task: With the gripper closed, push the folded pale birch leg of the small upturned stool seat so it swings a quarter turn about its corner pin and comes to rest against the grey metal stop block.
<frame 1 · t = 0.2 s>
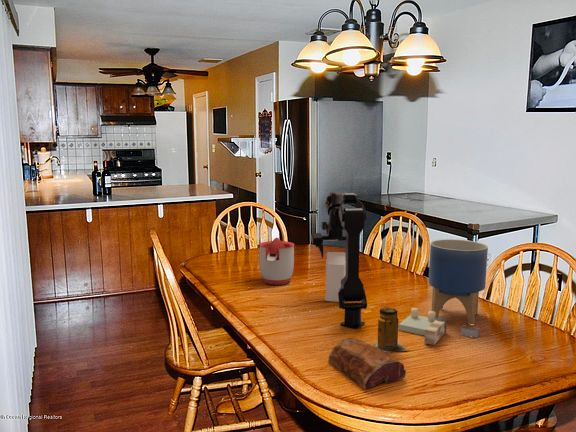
hand: (333, 257, 208), 15 cm above the table, tool pointing down, fingers open, 9 cm apart
condiment: (390, 348, 158), on the table
planter: (454, 316, 186), on the table
cured meat: (363, 366, 146), on the table
leg: (436, 330, 165), point 3 cm above the table, hinge at 0.0°
citrus juicer: (276, 282, 228), on the table
stool seat: (419, 327, 174), on the table
milk carton: (335, 299, 205), on the table
stop block: (469, 335, 168), on the table
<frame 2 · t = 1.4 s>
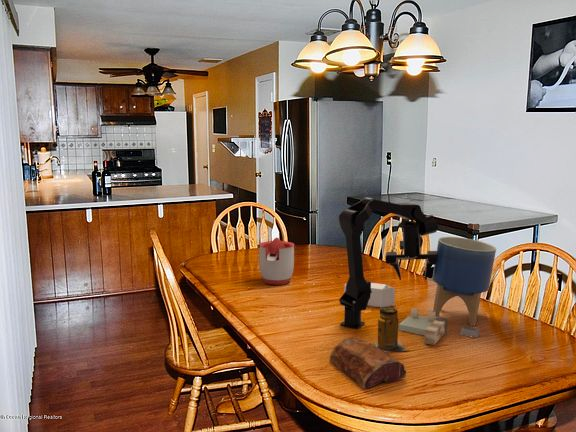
hand: (412, 279, 187), 12 cm above the table, tool pointing down, fingers open, 8 cm apart
milk carton: (345, 291, 203), point 4 cm above the table
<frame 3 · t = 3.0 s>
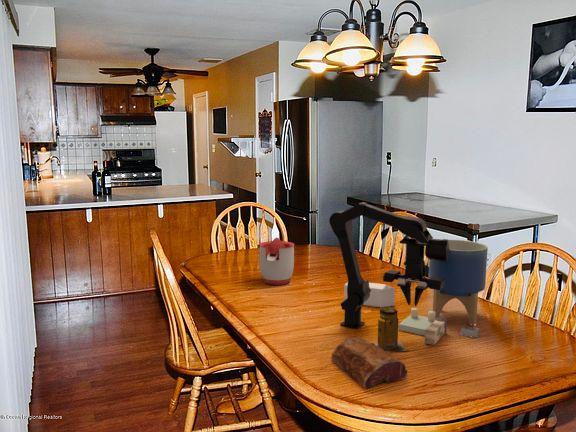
hand: (412, 305, 166), 10 cm above the table, tool pointing down, fingers closed
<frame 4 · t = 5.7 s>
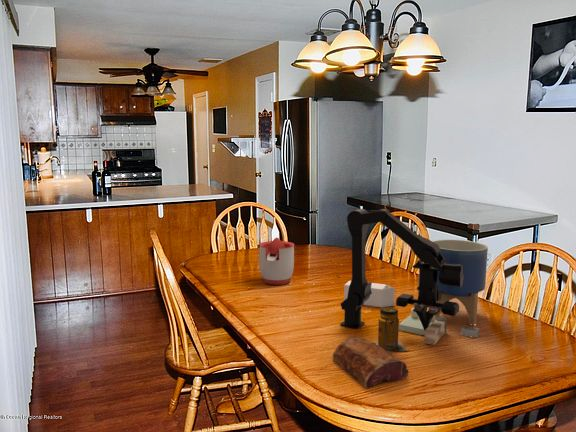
hand: (425, 330, 165), 3 cm above the table, tool pointing down, fingers closed
leg: (436, 330, 165), point 3 cm above the table, hinge at 0.2°, touching gripper
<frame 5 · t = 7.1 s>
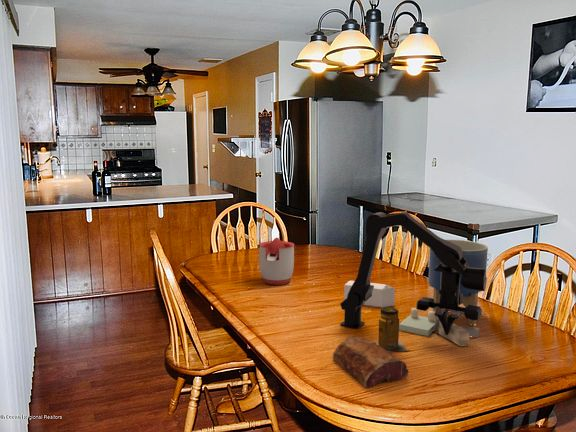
hand: (447, 334, 161), 3 cm above the table, tool pointing down, fingers closed
leg: (450, 331, 164), point 3 cm above the table, hinge at 52.5°, touching gripper
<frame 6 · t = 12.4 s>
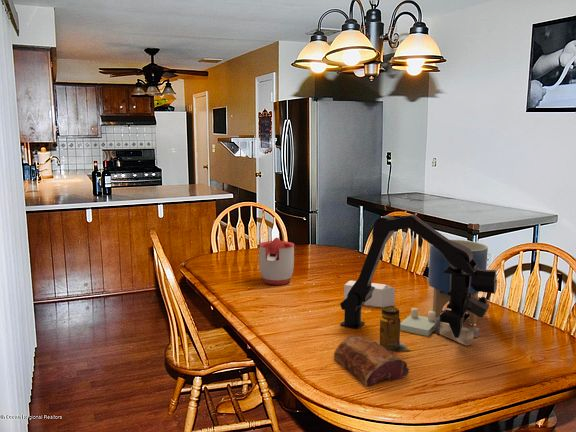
hand: (456, 337, 159), 3 cm above the table, tool pointing down, fingers closed
leg: (452, 330, 165), point 3 cm above the table, hinge at 62.0°, touching gripper
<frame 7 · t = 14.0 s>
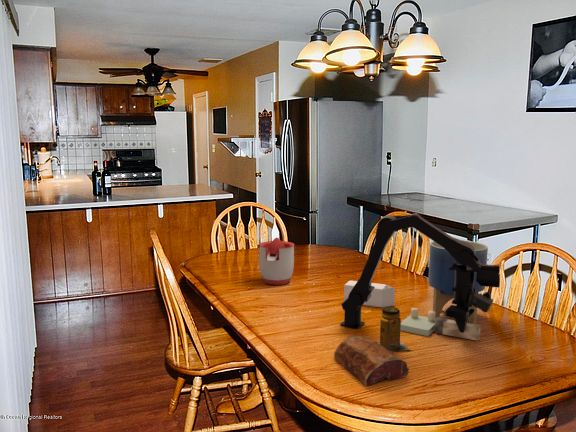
hand: (462, 332, 163), 3 cm above the table, tool pointing down, fingers closed
leg: (456, 328, 167), point 3 cm above the table, hinge at 92.6°, touching gripper, stop block
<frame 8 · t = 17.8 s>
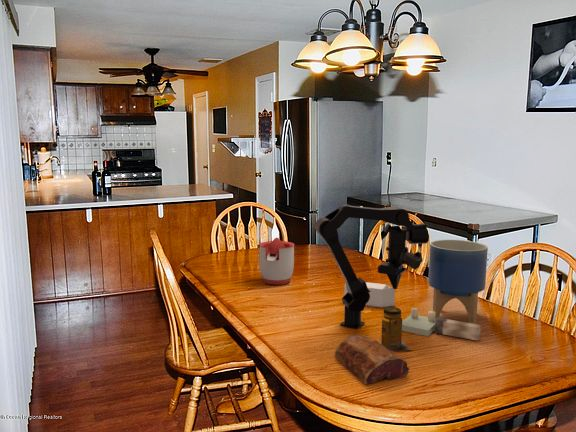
hand: (395, 288, 177), 12 cm above the table, tool pointing down, fingers closed
leg: (456, 328, 167), point 3 cm above the table, hinge at 92.6°, touching stop block
at the end: leg at +93° (first picture: +0°); the gripper is holding nothing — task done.
